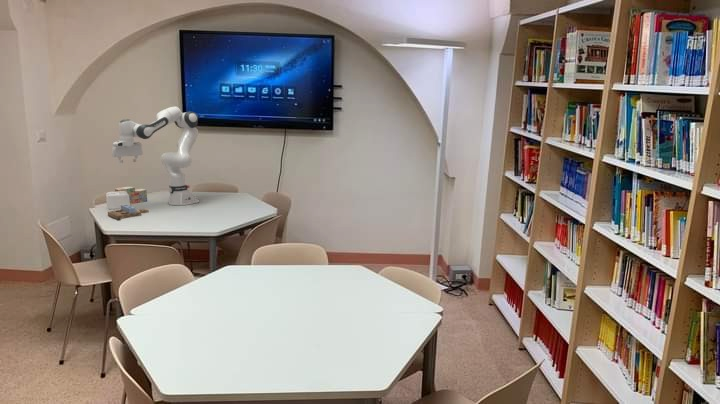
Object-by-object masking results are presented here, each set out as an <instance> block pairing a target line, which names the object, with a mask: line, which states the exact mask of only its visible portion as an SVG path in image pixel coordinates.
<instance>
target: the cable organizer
mask: <svg viewBox="0 0 720 404" xmlns="http://www.w3.org/2000/svg"><path fill="white" fill-rule="evenodd" d="M105 197H106V200H105V201H106V208H107V210H109V211H113V210H121V205H125V204H127V205H130V206H131V204H130V201H129V195H128V193H127V192H125V191H120V192H115V191H109V192H106V194H105Z"/></svg>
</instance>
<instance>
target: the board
mask: <svg viewBox="0 0 720 404" xmlns="http://www.w3.org/2000/svg"><path fill="white" fill-rule="evenodd" d="M135 210H136V209H135ZM107 216H108V217H109V218H111V219H113V220H116V221H121V220H122V219H123V220H124V219H128V218H129V219H130V218H133V217H140V216H142V213H141V212H140V210H136V213H131V214H129V213H127V212H125V211H122V210H121V209H115V210H109V211H107Z"/></svg>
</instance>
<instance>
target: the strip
mask: <svg viewBox="0 0 720 404" xmlns="http://www.w3.org/2000/svg"><path fill="white" fill-rule="evenodd" d="M120 210H122V211H125V212H127V213H129V214H131V213H136V207H134V206H132V205H131V204H130V205H127V204H125V205H121V209H120Z"/></svg>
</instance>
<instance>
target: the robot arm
mask: <svg viewBox="0 0 720 404" xmlns="http://www.w3.org/2000/svg"><path fill="white" fill-rule="evenodd" d="M155 119H156V120H155V121H153V122H151V123H149V124H141V123H137V122H135V121H132V120H131V119H127V118H126V119H122V120H120V121H119V123H118V134H119V139H118V140H117V141H114V142H112V148H111V156H112V157H113V158H117V159H118V161H119V164H123V163H124V160H122V157H134V159H132V162H134V163H137V159H138V157H139V156H142V155H143V154H144V153H143V147H142V146H143V145H142V143H141V142H139V141H137V142H134V138H138V139H143V140H148V139H150V138H151V137H152V136H153V135H154V134H155V133H156V132H158V131H159V130H161V129H163V128H165V127H166V126H169V125H170V124H173V123H174V124H175V126H176V127H178V128H179V129H183V132H182V133H181V135H180V136H179V139H178V141H177V142H176V146H177V151H175V152H174V151H173V152H172V151H168V152H164V153H162V155H161V156H160V161H161V163H162V164H163V165H164V167H165V169H166V170H167V173H168V178H169V179H168V181H169V185H168V186H169V187H168V188H169V189H168V190H169V200H168V204H169V205H170V206H187V205H188V206H189V205H192V204H196V203H200V200H199V199H197V197H196V194H195V193H193V192H192V191H191V190H190V187H191V185H187V184H186V178H185V177H186V176H185V174H184V173H183V172H182V170H181V169H185V168H189V167H190V166H191V165H192V157H191V155H190V154H191V150H192V149H193V146H194V145H195V142H196V141H197V139H198V136H199V130H198V128H196V127H198V121H199V116H198V114H197V112H194V111H186V112H182V110H181V109H180V108H179V107H178V106H176V105H175V106H170V107H167V108H164V109H162V110H160V111H158V113H156V116H155Z"/></svg>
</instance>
